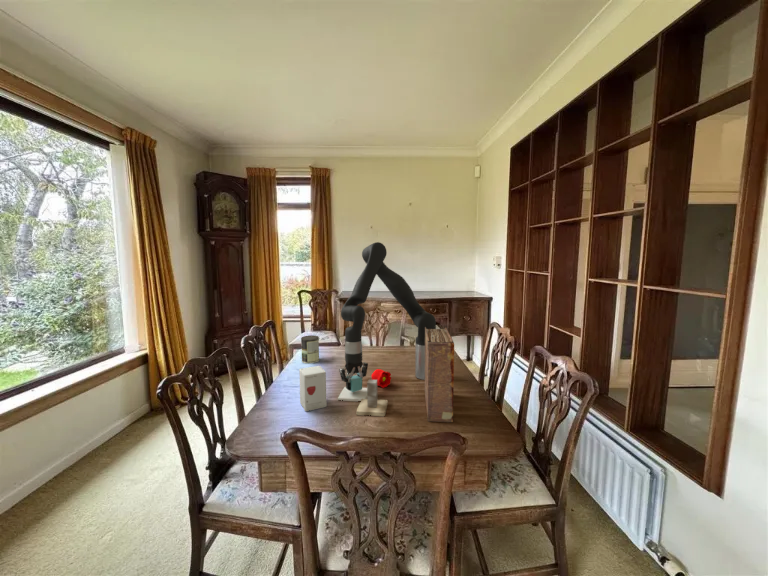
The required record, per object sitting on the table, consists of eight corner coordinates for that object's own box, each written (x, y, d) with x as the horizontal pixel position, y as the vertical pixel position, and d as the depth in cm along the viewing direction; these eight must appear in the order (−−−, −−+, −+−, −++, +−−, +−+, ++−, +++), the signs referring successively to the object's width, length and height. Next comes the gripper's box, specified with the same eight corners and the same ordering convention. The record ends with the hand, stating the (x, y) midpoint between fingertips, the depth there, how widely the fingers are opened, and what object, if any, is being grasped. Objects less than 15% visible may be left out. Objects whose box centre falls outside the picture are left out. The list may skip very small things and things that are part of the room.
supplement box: (304, 412, 125) (303, 375, 123) (299, 403, 133) (298, 368, 131) (327, 407, 129) (326, 371, 127) (321, 398, 137) (320, 364, 135)
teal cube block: (355, 385, 143) (355, 375, 143) (362, 389, 139) (362, 378, 139) (346, 388, 140) (346, 377, 140) (352, 392, 136) (352, 381, 136)
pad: (370, 390, 145) (370, 387, 145) (365, 401, 133) (365, 399, 133) (344, 388, 146) (344, 386, 146) (337, 400, 135) (337, 398, 134)
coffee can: (298, 363, 183) (298, 339, 182) (305, 357, 193) (304, 335, 192) (315, 363, 182) (315, 339, 180) (321, 358, 192) (321, 335, 191)
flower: (382, 369, 157) (393, 373, 151) (378, 385, 155) (389, 389, 149) (371, 366, 152) (382, 370, 146) (366, 382, 150) (377, 386, 144)
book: (424, 392, 142) (424, 327, 139) (445, 393, 141) (446, 327, 138) (427, 422, 116) (428, 342, 114) (453, 422, 116) (454, 342, 113)
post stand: (387, 403, 132) (387, 376, 130) (384, 416, 121) (384, 387, 120) (361, 402, 133) (361, 375, 132) (356, 415, 122) (355, 386, 121)
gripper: (362, 345, 145) (362, 381, 147) (334, 351, 136) (335, 389, 138) (371, 349, 139) (372, 386, 141) (343, 355, 131) (344, 395, 132)
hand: (354, 388), depth 140 cm, fingers closed on teal cube block, 5 cm apart
